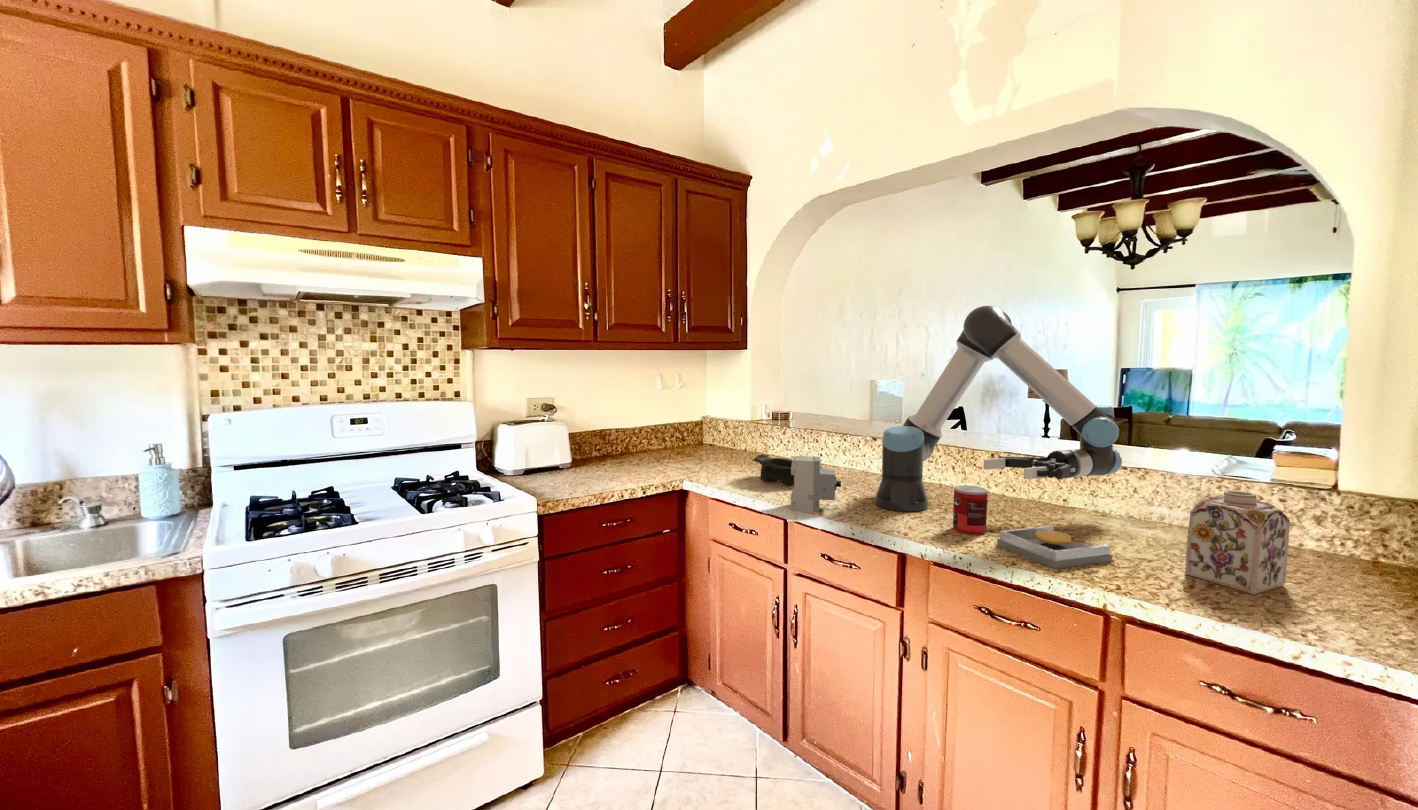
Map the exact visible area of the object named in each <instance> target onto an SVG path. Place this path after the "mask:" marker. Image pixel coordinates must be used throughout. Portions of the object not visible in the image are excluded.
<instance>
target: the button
mask: <svg viewBox="0 0 1418 810" xmlns="http://www.w3.org/2000/svg"><path fill="white" fill-rule="evenodd" d="M1035 538H1036V539H1037V540H1039V541H1042V542H1045V545H1047V546H1051V547H1060V545H1067V544H1070V543H1071V541H1072V536H1071V535H1070V534H1068V533H1065V532H1062V531H1057V530H1053V531H1052V530H1038V531H1036V532H1035Z"/></svg>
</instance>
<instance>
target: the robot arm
mask: <svg viewBox="0 0 1418 810" xmlns="http://www.w3.org/2000/svg"><path fill="white" fill-rule="evenodd" d="M1021 335H1022V333H1021V332H1020V331H1019V330H1018V329H1017V328H1016V327H1015V326H1014V325H1013V323H1012V319H1011V317H1010V316H1009V315H1008V314H1007V313H1006V312H1005V311H1002V310H1001V309H1000V308H999V307H996V306H992V305H983V306H978V307H976V308H975V309H973V310H972V311H970V312H969V314H968V315H967V316H966V317H965V320H964V321H963V330H962V331H961V333H960V335H959V336H958V337H957V340H956V341H955V342H956V346H957V349H956V350H955V352H954V353H953V356H952V357H951V359H950V360H949V362H948V363H947V365H946V367H945V368H944V370H943V372H941V374H940V376H939V377H938V378H937V381H936V382H935V384H934V385H933V386H932V388H931V390H930V392H929V393H928V395H927V396H926V398H925V399H924V401H923V403H922V404H921V405H920V407H919V409H918V410H917V412H916V413H915V414H913V415H912V414H911V415H909V416H908V417H907V418H906V420H905V422H904V423H903V425H898V426H894V427H893V426H892V427H891V426H890V427H889V428H887V429H885V430H884V431H883V434H882V438H881V441H882V442H881V443H882V451H881V452H882V454H881V455H882V459H881V461H882V462H881V463H882V466H881V480H880V483H879V486H878V489H877V491H876V494H875V500H874V501H875V502H874V503H875V505H876V506H877V507H880V508H883V509H886V510H891V511H899V512H918V511H919V512H921V511H925V510H927V509H928V507H929V499H928V496H927V492H926V488H925V486H924V482H923V474H924V465H923V464H924V462H925V461H926V460H927V459H929V458H930V457H931V456H932V454H933V452H934V450H935V447H936V446H937V445H938V442H939V441H940V440H941V438H942V437H943V434H942V427H943V426H944V424H945V423H946V421H947V420H948V418H949V417H950V415H951V414H952V412H953V411H954V409H955V408H956V406H957V404H958V403H959V401H960V400H961V398H962V397H963V395H964V394H965V393H966V391H967V389H968V388H969V386H970V385H971V383H972V382H973V380H974V379H975V377H976V376H977V374H978V372H979V371H980V370H981V368H983V365H984V364H985V363H986V362H990V361H993V360H994V359H998V360H999V361H1000V362H1001V363H1002V364H1003V365H1004V366H1006V367H1007V368H1008V369H1009V370H1010V371H1011V372H1012V373H1013V374H1014V375H1016V376H1017V377H1018V378H1019V379H1020V380H1021V382H1023V383H1024V384H1025V385H1026V386H1027V387H1029V388H1030V389H1031V390H1032V391H1033V392H1034V393H1035V394H1036V395H1037V396H1038V397H1040V399H1042V400H1043V401H1044V402H1045V403H1046V404H1047V405H1048V406H1049V407H1050V408H1051V409H1052V410H1054V412H1056V414H1058V415H1059V416H1060V417H1061V418H1062V419H1063V420H1064V421H1066V423H1067V424H1068V425H1069V426H1071V427H1072V428H1073V429H1074V431H1076V433H1078V434H1079V435H1080V439H1079V440H1080V441H1079V448H1076V449H1066V450H1064V449H1063V450H1053V451H1051V452H1050V453H1049V454H1048V455H1047V456H1040V457H1036V456H1034V455H1032V456H1001V455H999V456H998V458H997V457H996V458H985V459H983V470H997V469H1001V470H1004V469H1006V468H1015V469H1017V468H1018V469H1023V480H1035V479H1036V480H1037V479H1046V478H1047V477H1048V478H1049V479H1053V478H1055V479H1057V480H1062V479H1070V478H1073V479H1074V480H1078V478H1081V477H1091V476H1094V477H1096V476H1107V475H1110V474H1111V475H1112V474H1114V473H1116V472H1118V471H1119V470H1120V469H1121V468H1122V467H1121V466H1122V464H1123V458H1122V457H1121V454H1120V452H1119V451H1118V450H1116V449H1115V448H1113V447H1114V445H1113V444H1115V443H1116V441H1117V440H1118V438H1119V435H1120V428H1119V426H1118V424H1117V423H1116V422H1115V417H1116V416H1115V410H1114V407H1113V406H1111V405H1103V404H1094V403H1093V402H1092V401H1091V400H1090V398H1087V396H1086V395H1084V394H1083V393H1082V392H1081V391H1080V390H1079V389H1078V388H1076V386H1074V385H1073V384H1072V383H1071V382H1070V381H1069V380H1067V379H1066V378H1065V376H1063V375H1062V374H1061V373H1060V372H1058V370H1056V368H1054V367H1053V366H1052V365H1051V364H1050V363H1049V362H1048V361H1046V359H1044V358H1043V357H1042V356H1041V355H1040V354H1039V353H1038V352H1037V351H1035V349H1034V348H1032V347H1031V346H1030V345H1028V343H1027V342H1026V341H1024V339H1022V336H1021Z"/></svg>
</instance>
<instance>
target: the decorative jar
mask: <svg viewBox="0 0 1418 810" xmlns="http://www.w3.org/2000/svg"><path fill="white" fill-rule="evenodd" d="M1223 494H1224V495H1223V496H1209V497H1202V498H1201V499H1199V501H1198V502H1197V503H1196V504H1195V505H1194V507H1192V509H1190V512H1189V519H1188V520H1189V521H1188V528H1187V539H1186V551H1185V554H1186V555H1185V569H1184V574H1185V575H1188V576H1190V577H1193V578H1196V579H1200V580H1203V581H1207V582H1211V583H1213V584H1216V585H1220V586H1223V587H1227V588H1230V589H1233V590H1237V591H1240V592H1243V593H1246V594H1249V595H1258V594H1262V593H1265V592H1267V591H1271V590H1274V589H1277V588H1280V587H1283V586H1284V585H1285V582H1286V576H1287V567H1288V550H1289V539H1290V537H1289V536H1290V523H1291V521H1290V518H1289V517H1288V516H1287V514H1285V513H1284V512H1283V510H1282V509H1281V508H1278V507H1277V506H1275V505H1273V504H1271V503H1268V502H1263V501H1259V500H1258V499H1257V495H1256V494H1255V493H1253V492H1247V491H1239V490H1225V491H1224V492H1223Z"/></svg>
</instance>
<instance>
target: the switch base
mask: <svg viewBox="0 0 1418 810" xmlns="http://www.w3.org/2000/svg"><path fill="white" fill-rule="evenodd" d="M1054 528H1055V527H1054V526H1053V525H1045V526H1037V527H1036V526H1035V527H1025V528H1016V529H1006V530H1000V531H999V538H997V539H996V545H997V546H999V547H1000V546H1001V548H1003V549H1006V550H1008V551H1010V552H1013V553H1015V554H1018V555H1020V554H1021V555H1020V556H1022V555H1023V557H1024V556H1025V558H1027V557H1028V558H1027V559H1029V558H1030V560H1032V561H1035V562H1036V561H1037V563H1039V564H1042V565H1044V566H1046V567H1049V568H1051V569H1054V570H1056V569H1057V570H1058V569H1063V568H1065V569H1066V568H1072V567H1081V566H1087V565H1094V564H1095V565H1096V564H1103V563H1111V562H1113V554H1112V553H1111V545H1109V544H1097V545H1091V546H1090V545H1085V544H1083V543H1081V542H1076V541H1074V540H1071V543H1070V544H1067V545H1060V547H1051V546H1047V545H1045V542H1042V541H1039V540H1037V539H1036V538H1035V532H1036V531H1038V530H1052V531H1055V529H1054Z"/></svg>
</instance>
